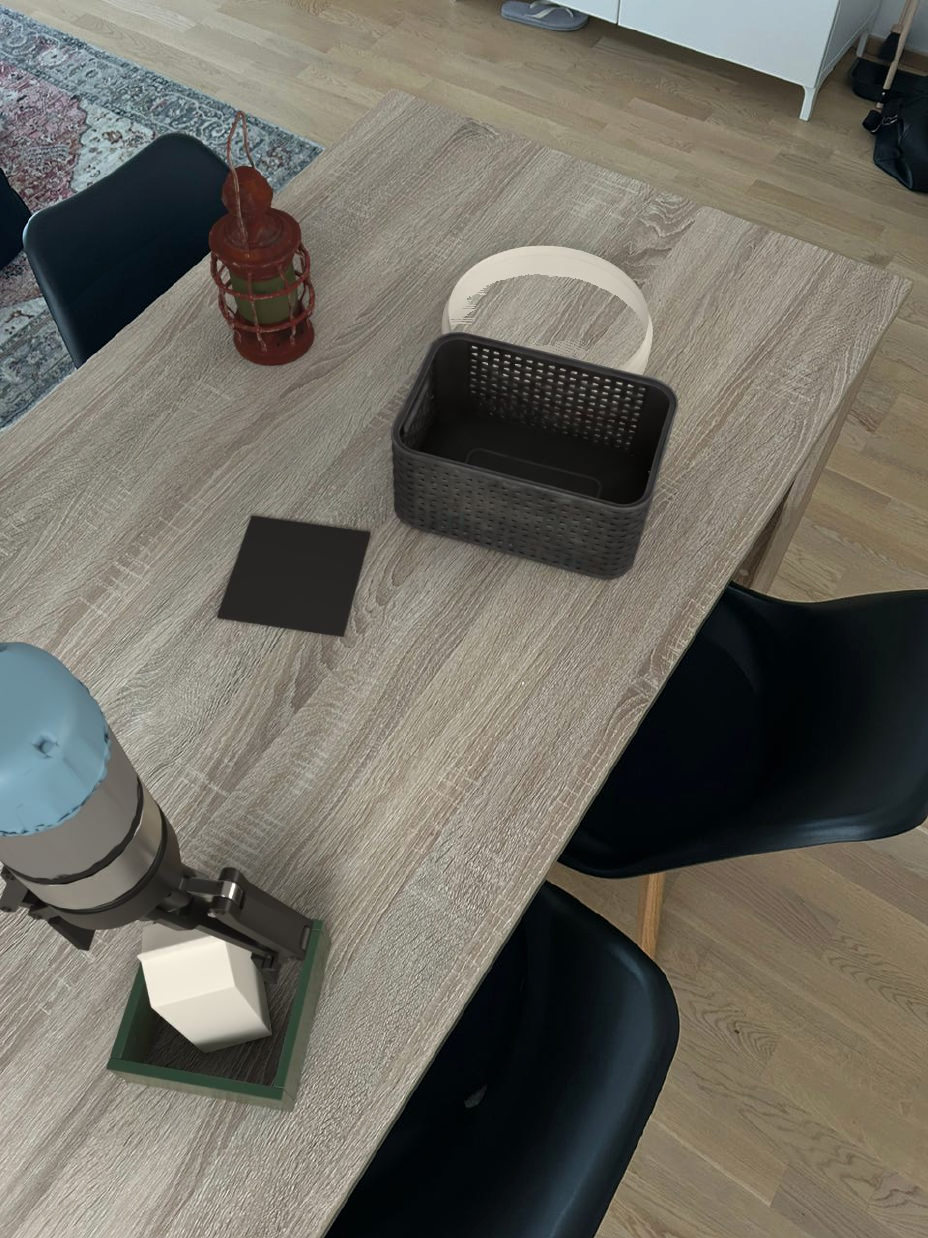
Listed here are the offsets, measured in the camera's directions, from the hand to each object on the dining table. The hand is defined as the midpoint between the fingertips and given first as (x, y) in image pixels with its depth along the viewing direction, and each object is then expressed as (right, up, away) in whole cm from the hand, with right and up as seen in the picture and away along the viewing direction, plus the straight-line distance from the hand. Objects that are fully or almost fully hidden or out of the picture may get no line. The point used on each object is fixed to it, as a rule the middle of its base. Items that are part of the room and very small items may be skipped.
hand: (182, 947), depth 73 cm
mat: (+1, +28, +43) cm, 51 cm away
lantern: (-5, +60, +63) cm, 87 cm away
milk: (0, -11, +18) cm, 22 cm away
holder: (0, -11, +18) cm, 21 cm away
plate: (+30, +59, +63) cm, 91 cm away
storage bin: (+27, +38, +50) cm, 68 cm away
